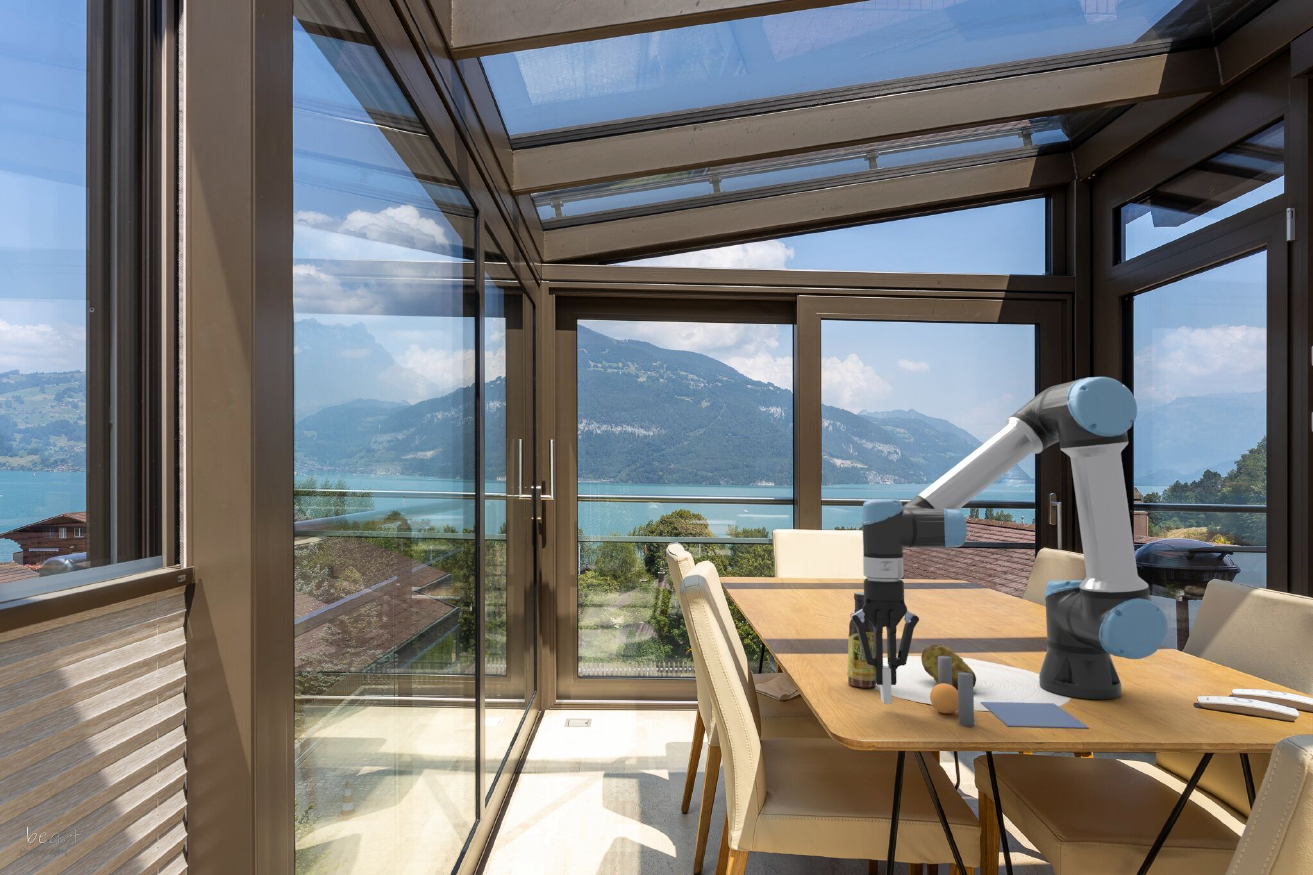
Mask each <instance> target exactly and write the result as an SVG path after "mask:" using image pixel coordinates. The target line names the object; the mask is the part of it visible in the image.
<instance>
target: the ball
mask: <svg viewBox="0 0 1313 875" xmlns="http://www.w3.org/2000/svg"><path fill="white" fill-rule="evenodd" d="M929 694H930V695H929V699H930V700H929V701H930V703H931V705H932V707H933V708H934V709H935V710H936V711H937V712H939V713H941V714H945V715H946V714H948V715H949V714H953V713H955V712H956V711H958V710H959V706H958V690H957V689H956V688H954V687H953V686H952V685H949V684H945V683H942V684H936V685H934V686H933V688H932V689H931V690H930V693H929Z"/></svg>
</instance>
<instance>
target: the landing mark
mask: <svg viewBox="0 0 1313 875" xmlns="http://www.w3.org/2000/svg"><path fill="white" fill-rule="evenodd" d="M980 704H982V705H983V706H984V707H985V708H986V709H987V710H988V711H989V712H991V713H992V714H993V715H994V716H995V717H996V718H997V719H998V720H1000V721H1001V722H1002V723H1004V725H1006V726H1007V727H1013V728H1015V727H1016V728H1017V727H1020V728H1050V729H1051V728H1053V729H1054V728H1057V729H1058V728H1059V729H1060V728H1061V729H1089V726H1088V725H1086V724H1085V723H1083V722H1082V721H1080V720H1078V718H1076V717H1074V716H1073V715H1071V714H1070V713H1069V712H1067V711H1065V709H1063V708H1061V707H1060V706H1058V705H1057V704H1056V703H1052V702H1051V703H1050V702H1045V703H1044V702H1014V701H1013V702H1004V701H1001V702H1000V701H980Z"/></svg>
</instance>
